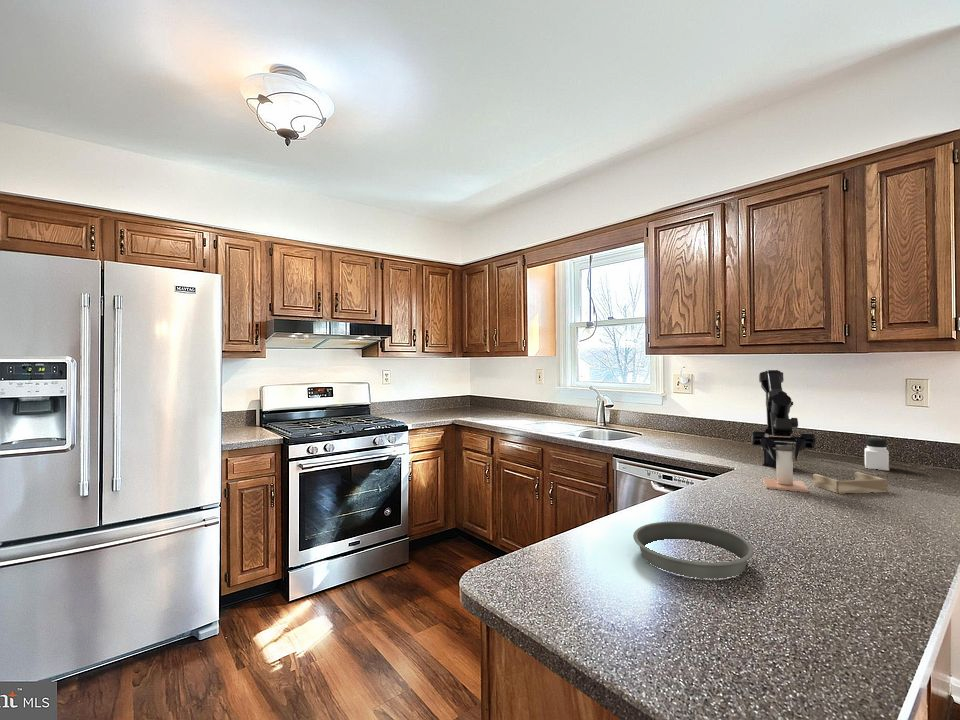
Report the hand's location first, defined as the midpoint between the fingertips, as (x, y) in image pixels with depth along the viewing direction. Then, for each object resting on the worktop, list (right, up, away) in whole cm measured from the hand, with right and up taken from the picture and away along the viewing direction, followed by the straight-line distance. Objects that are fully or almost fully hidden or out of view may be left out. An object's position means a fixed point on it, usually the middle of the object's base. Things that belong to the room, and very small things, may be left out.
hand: (784, 459), depth 160 cm
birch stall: (+20, -9, -3) cm, 22 cm away
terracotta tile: (+1, -10, +1) cm, 10 cm away
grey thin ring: (-57, -11, -55) cm, 80 cm away
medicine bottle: (+53, -9, +25) cm, 59 cm away
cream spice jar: (+1, -9, +1) cm, 9 cm away
